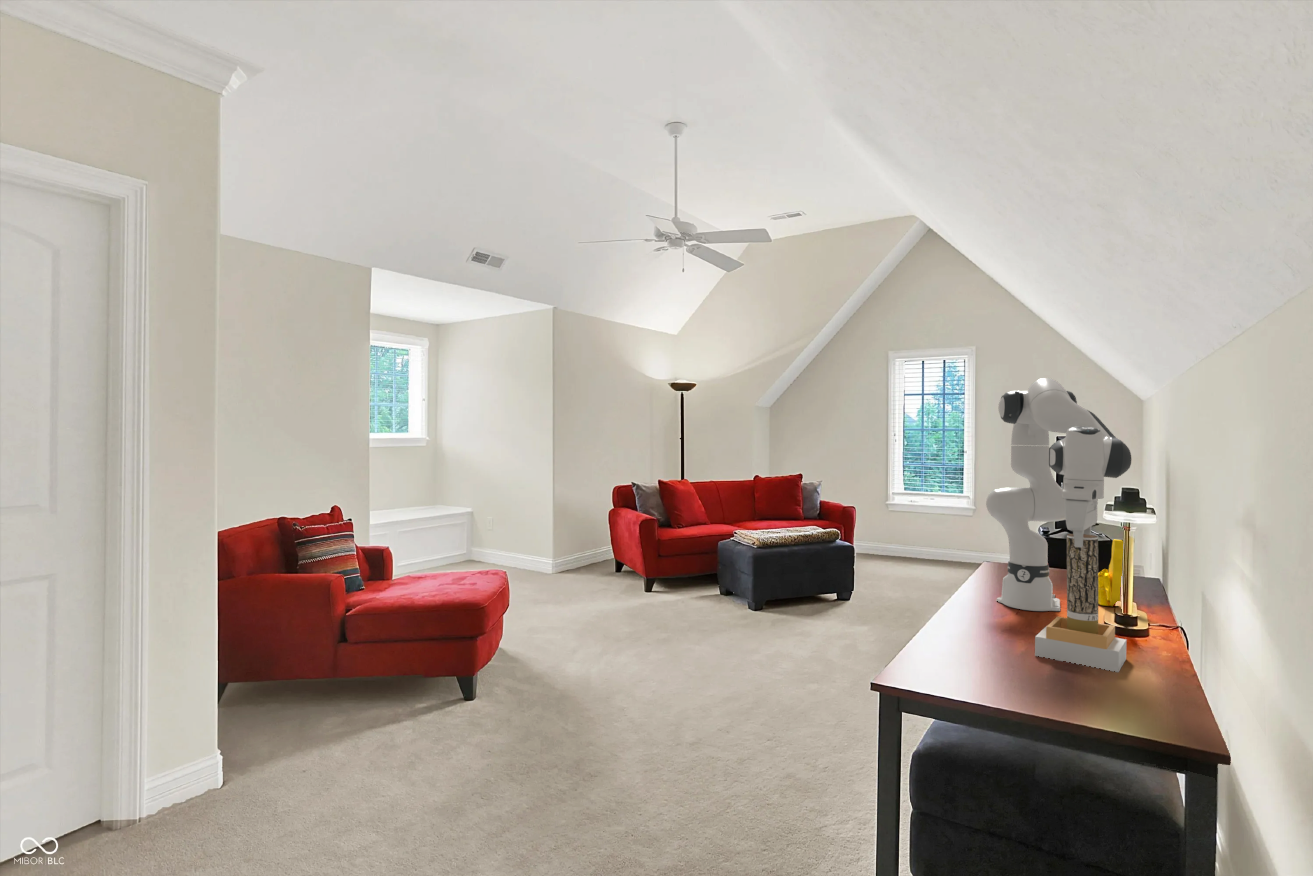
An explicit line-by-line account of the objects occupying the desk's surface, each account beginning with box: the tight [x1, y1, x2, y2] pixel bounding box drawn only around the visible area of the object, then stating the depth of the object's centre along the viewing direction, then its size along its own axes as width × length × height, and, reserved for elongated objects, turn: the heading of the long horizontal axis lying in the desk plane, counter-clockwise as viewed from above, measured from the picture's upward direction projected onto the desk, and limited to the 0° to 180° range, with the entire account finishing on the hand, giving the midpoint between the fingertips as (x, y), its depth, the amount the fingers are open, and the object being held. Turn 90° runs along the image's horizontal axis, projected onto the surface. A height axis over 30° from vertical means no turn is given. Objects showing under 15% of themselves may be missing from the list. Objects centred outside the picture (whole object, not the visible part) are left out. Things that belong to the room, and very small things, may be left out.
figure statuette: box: [1098, 538, 1124, 607], centre depth 230 cm, size 18×8×22 cm, turn 158°
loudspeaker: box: [1034, 616, 1128, 673], centre depth 177 cm, size 13×18×8 cm
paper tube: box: [1066, 533, 1099, 634], centre depth 177 cm, size 7×7×25 cm
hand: (1082, 544), depth 177 cm, fingers closed on paper tube, 7 cm apart
